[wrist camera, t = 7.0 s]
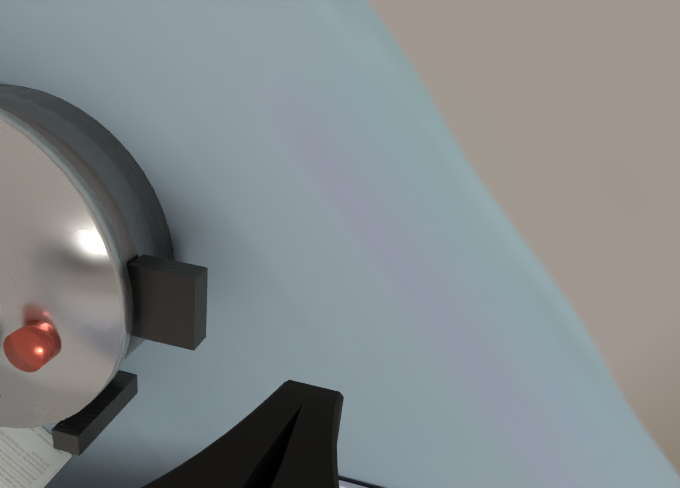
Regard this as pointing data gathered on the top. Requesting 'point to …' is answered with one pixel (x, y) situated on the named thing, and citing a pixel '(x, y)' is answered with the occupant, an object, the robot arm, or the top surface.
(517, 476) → the top surface
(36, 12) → the top surface
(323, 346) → the top surface
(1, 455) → the supplement box
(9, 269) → the cooker lid
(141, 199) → the cooker pot
